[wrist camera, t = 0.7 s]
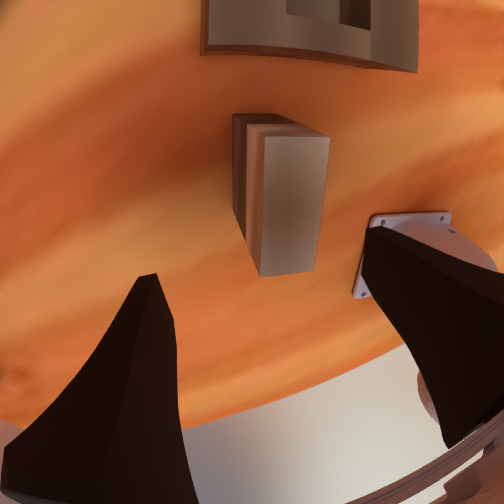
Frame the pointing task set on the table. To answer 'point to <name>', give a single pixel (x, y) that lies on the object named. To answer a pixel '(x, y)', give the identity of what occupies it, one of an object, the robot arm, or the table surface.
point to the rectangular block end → (278, 190)
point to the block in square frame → (315, 31)
